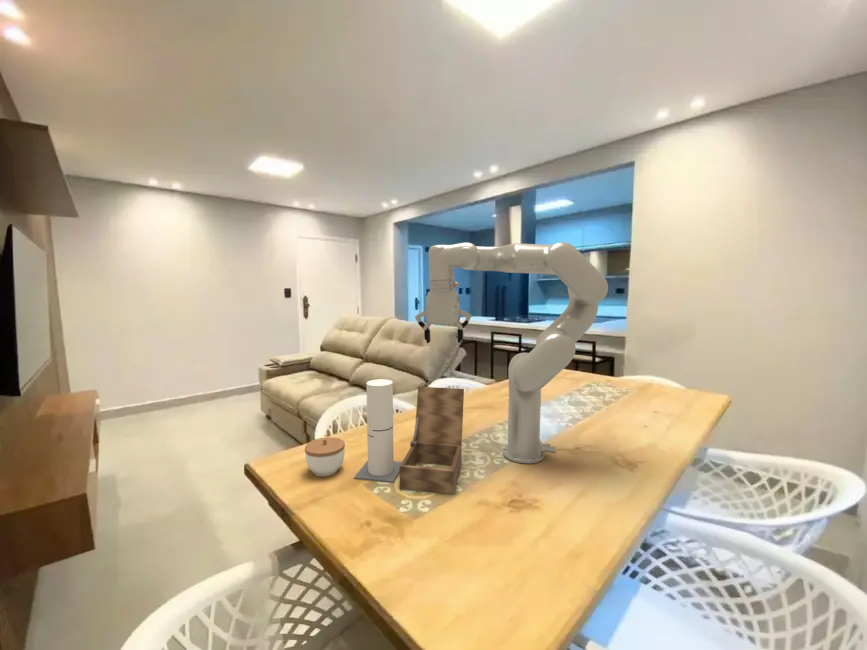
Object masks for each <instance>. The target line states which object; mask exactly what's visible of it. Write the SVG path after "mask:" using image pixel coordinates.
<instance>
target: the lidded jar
mask: <svg viewBox="0 0 867 650" xmlns="http://www.w3.org/2000/svg"><path fill="white" fill-rule="evenodd" d="M345 446H346V443H345V441H344V440H343V439H341V438H338V437H332V436H330V437H321V438H316V439H313V440H311V441H309V442H308V443H306V445H305V447H304V452H305V462H306V465H307V467H308V469H309V470H310V471H311V472H312V473H313V474H314V475H315V476H317V477H321V478H322V477H329V476H332V475H334V474H336V472H337V471H338V470H339V469H340V468H341V466H342V464H343V462H344V459H345Z"/></svg>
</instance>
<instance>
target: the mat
mask: <svg viewBox="0 0 867 650" xmlns="http://www.w3.org/2000/svg"><path fill="white" fill-rule="evenodd" d="M401 463H402V461H395V460H394V470H393V471H392V472H391V473H390V474H387V475H383V476H375V475H372V474H370V473H369V472H368V460H367V461H365V463H364V464H363V466H362V467H361V468H360V469H359V471H358V472H357V473H356V474H355V476H354V477H353V479H354V480H362V481H363V480H364V481H372V482H382V483H392V484H393V483H394V482H395V481H396V479H397V477H398V475H400V469H399V466H400V465H401Z"/></svg>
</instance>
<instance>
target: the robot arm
mask: <svg viewBox="0 0 867 650" xmlns="http://www.w3.org/2000/svg"><path fill="white" fill-rule="evenodd" d="M428 268H429V269H428V270H429V271H428V273H429V291H428V292H427V295H426V304H425V305H426V307H425V310H424V311H422V312H420V313H419V314H416V315H415V316H414V318H415V320H416V323H418V325H419V326H420V328H421V329H422V330H423V331H424V341H426V342H425V343H426V344H429V343H430V342H431V329H430V327H431V325H443V324H444V325H445V324H448V325H449V324H453V325H454V324H455V325H456V327H457V328H458V329H457V343H458V344H460V343H461V342H462V340H464V329H465V328H466V326H468V324H469V323H470V320H471V318H472V313H471V314H470V313H468V312H467V311H465V310H463V309H461V307H460V298H459V293H458V290H456V288H457V287H458V288H459V287H460V282H459V281H458V282H457V281H456V280H455V268H458V269H459V268H460V269H462V270H465V271H466V270H467V271H483V272H486V271H487V272H502V273H507V274H508V273H511V274H512V273H513V274H538V275H556V276H557V277H558V278H559V279H560V280H561V282H562V283H563V284H564V285H565V286H566V287H567V293H568V298H569V299H568V300H569V301H568V304H567V306H566V308H565V309H564V310H563V312H562V313H561V314H560V315H559V316H558V317H557V318H556V319H555V320H554V321H553V322H552V323H551V324H550V325H548V326H547V328H545V329H544V330H543V331H542V332H541V333H540V334H539V335H538V336H537V337H536V341H535V347H533V348H532V350H530V351H529V352H520V353H517V354H515V355H514V356H513V357H512V358H511V360H510V362H509V364H508V369H507V370H508V373H507V374H508V375H507V376H508V405H507V406H508V407H507V408H508V409H507V412H508V414H507V415H508V416H507V444H506V445H504V446H503V448H502V455H503V456H504V457H505V458H506V459H508V460H510V461H512V462H515V463H519V464H528V465H529V464H536V463H540V462H542V461H543V460H544V459H545V454H546V453H550V454H556V451H557V450H556V446H553V445H551V443H548V442H547V443H545V442H544V443H543V442H542V441H541V410H542V409H541V406H542V389H543V388H544V387H545V386H547V385H548V383H550V382H551V381H552V380H553V379H554V378H555V377H557V376H558V375H559V374H560V373H561V372H562V371H563V370H564V369H565V368H566V367H567V366H569V364H570V363H571V362H572V360H573V359H574V358H575V353H576V343H577V342H578V341H579V340H580V339H581V338H582V337H583V335H585V333H586V332H587V331H589V329H590V328H591V326H593V324H594V322H595V321H596V319H597V315H598V310H599V303H600V302H601V301H603V300H604V299H605V298H606V297H607V295H608V292H609V291H608V290H609V284H608V281H607V279H606V278H605V275H603V274H602V273H601V272H600V271H599V269H597V268H596V267H595V266H594V265H593V263H591V262H590V261H589V260H588V259H587V258H586V257H585V256H584V255H583V254H582V253H581V252H580V251H579V250H578V249H577V248H576V247H575V246H574V245H572V244H571V243H569V242H567V241H566V242H564V241H561V242H560V241H559V242H557V243H554V244H541V243H540V244H539V243H537V244H536V243H518V242H517V243H510V244H509V243H508V244H506V245H500V246H476V245H475V244H474V243H471V242H467V241H466V242H459V243H455V244H435V245H431V246H430V247H429V249H428ZM424 316H426V317H425V319H426V323H425V322H423V320H422V318H423V317H424ZM461 316H464V317H465V320H464V321H463V322H462V323H461V321H460V320H461Z"/></svg>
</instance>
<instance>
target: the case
mask: <svg viewBox="0 0 867 650" xmlns="http://www.w3.org/2000/svg"><path fill="white" fill-rule="evenodd" d="M464 397H465V389H464V388H453V387H430V386H418V387H417V400H416V411H415V412H416V413H415V425H414V432H413V439H412V440H411V441H410V444H409V445H410V447H409V450H408V451H407V453H406V455H405V456H404V458H403V460H402V461H401V462H402V463H401V465H400V466H399V469H400V472H399V489H400V490H406V491H407V490H409V491H417V492H428V493H437V494H444V495H445V494H446V495H455V493H456V492H455V491H456V489H457V488H456V487H457V484H458V483H457V482H458V480H459V475H460V471H461V468H462V445H463V442H462V441H463V440H462V439H463V422H464V421H463V420H464V419H463V418H464V401H465V399H464ZM418 463H420V464H421V463H422V464H432V465H443V466H451V467H450V468H443V467H442V468H440V467H432V466H431V467H429V466H420V465H418V466H417V464H418Z"/></svg>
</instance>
